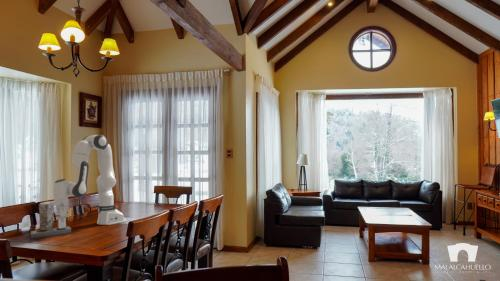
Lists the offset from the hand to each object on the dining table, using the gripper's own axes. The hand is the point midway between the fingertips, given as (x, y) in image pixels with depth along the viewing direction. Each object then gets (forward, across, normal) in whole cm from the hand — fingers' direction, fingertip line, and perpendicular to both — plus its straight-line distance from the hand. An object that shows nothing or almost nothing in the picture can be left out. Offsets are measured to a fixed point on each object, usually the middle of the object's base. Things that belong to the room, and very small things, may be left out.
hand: (61, 221), depth 251 cm
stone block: (+8, +20, +8) cm, 23 cm away
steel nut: (+4, 0, 0) cm, 4 cm away
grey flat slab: (+8, 0, +7) cm, 10 cm away
